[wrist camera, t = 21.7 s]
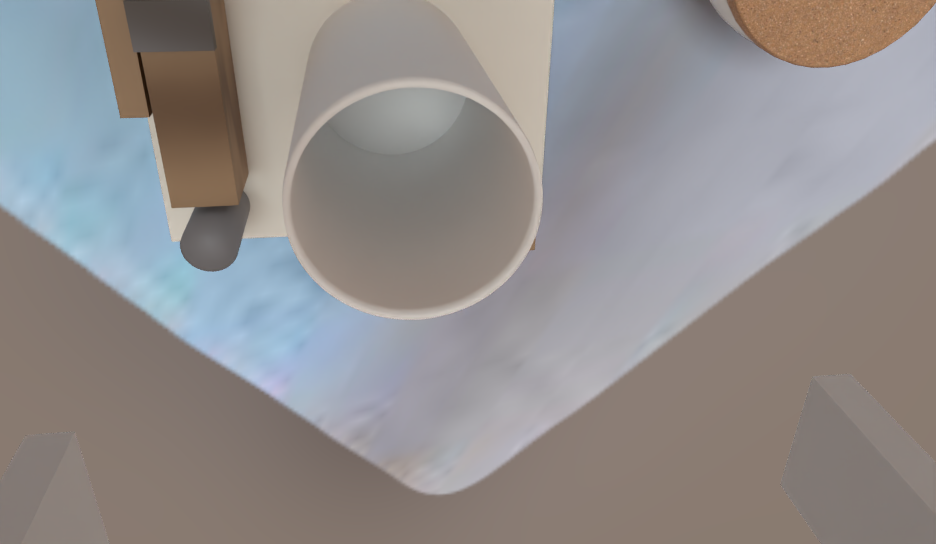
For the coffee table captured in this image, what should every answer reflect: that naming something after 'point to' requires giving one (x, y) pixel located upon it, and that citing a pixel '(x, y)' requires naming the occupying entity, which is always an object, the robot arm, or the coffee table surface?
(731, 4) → the lidded jar
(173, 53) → the brown rectangular block
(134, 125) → the coffee table surface
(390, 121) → the cup
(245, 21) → the seat board
